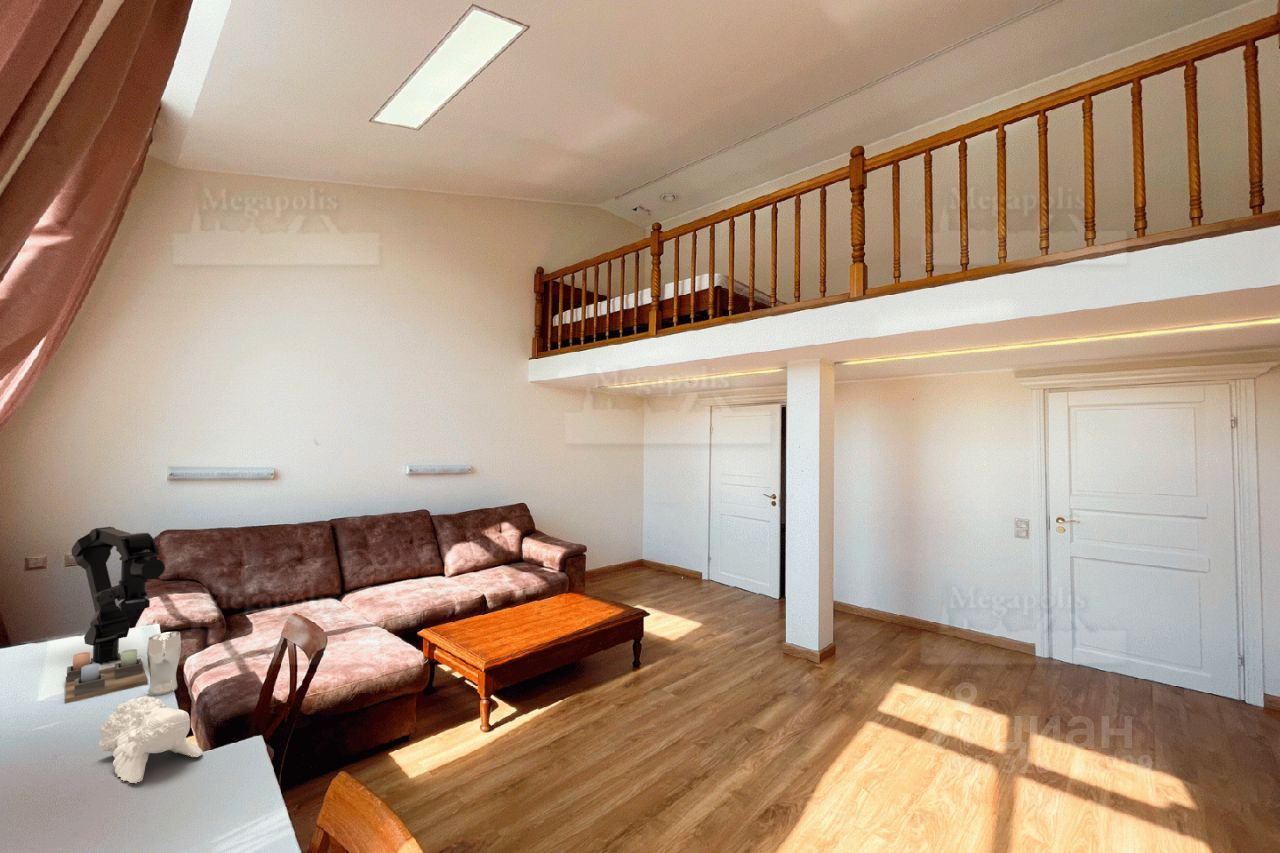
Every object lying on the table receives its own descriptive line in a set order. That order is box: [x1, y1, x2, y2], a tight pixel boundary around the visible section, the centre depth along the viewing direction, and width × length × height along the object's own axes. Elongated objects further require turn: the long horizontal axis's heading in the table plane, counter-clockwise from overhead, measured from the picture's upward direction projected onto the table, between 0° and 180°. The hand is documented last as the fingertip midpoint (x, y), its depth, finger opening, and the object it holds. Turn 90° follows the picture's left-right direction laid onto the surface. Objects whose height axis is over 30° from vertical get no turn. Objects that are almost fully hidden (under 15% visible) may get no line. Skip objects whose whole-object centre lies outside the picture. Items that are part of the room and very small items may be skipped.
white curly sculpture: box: [98, 695, 204, 784], centre depth 117 cm, size 13×12×20 cm
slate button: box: [81, 663, 100, 683], centre depth 147 cm, size 3×3×4 cm
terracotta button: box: [72, 651, 91, 671], centre depth 155 cm, size 3×3×4 cm
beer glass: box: [146, 631, 182, 697], centre depth 149 cm, size 7×7×15 cm
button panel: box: [64, 658, 149, 704], centre depth 154 cm, size 19×16×4 cm
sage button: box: [120, 649, 138, 667], centre depth 157 cm, size 3×3×4 cm
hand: (132, 627), depth 164 cm, fingers closed
